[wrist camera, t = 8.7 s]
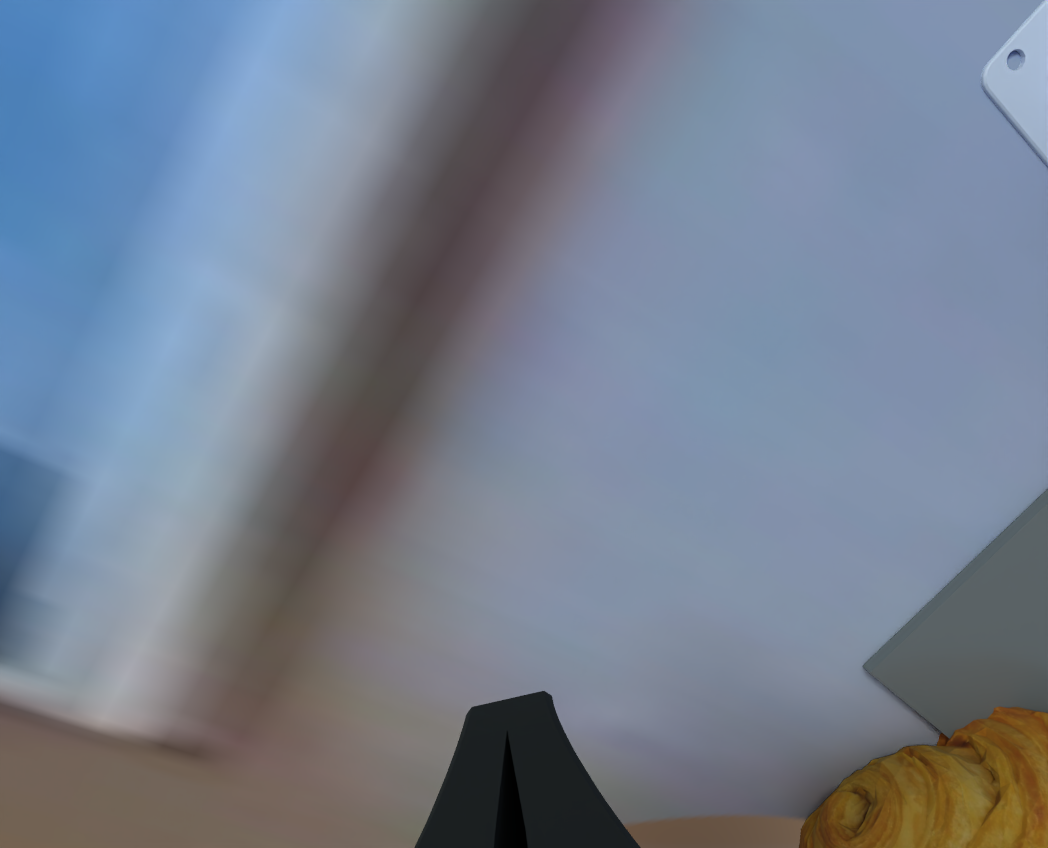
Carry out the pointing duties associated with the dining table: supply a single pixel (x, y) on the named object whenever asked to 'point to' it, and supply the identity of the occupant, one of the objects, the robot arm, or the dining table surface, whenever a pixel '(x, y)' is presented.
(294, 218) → the dining table surface
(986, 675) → the slate board
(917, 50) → the dining table surface
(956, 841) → the croissant
